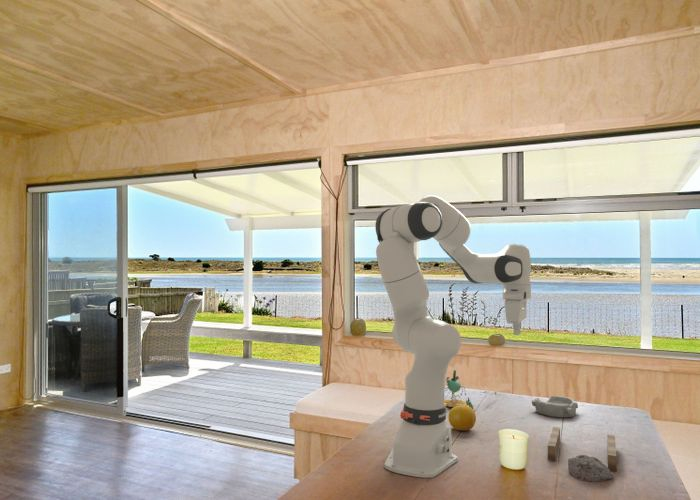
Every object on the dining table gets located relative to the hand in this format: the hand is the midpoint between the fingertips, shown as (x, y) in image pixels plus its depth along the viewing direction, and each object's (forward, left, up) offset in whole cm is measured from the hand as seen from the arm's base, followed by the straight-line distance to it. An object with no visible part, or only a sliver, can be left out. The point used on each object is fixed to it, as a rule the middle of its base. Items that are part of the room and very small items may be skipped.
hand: (517, 334), depth 167 cm
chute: (-14, -20, -31) cm, 39 cm away
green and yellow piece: (+17, +25, -32) cm, 44 cm away
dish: (+26, -10, -32) cm, 42 cm away
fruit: (-9, +16, -31) cm, 36 cm away
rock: (-28, -22, -32) cm, 48 cm away
